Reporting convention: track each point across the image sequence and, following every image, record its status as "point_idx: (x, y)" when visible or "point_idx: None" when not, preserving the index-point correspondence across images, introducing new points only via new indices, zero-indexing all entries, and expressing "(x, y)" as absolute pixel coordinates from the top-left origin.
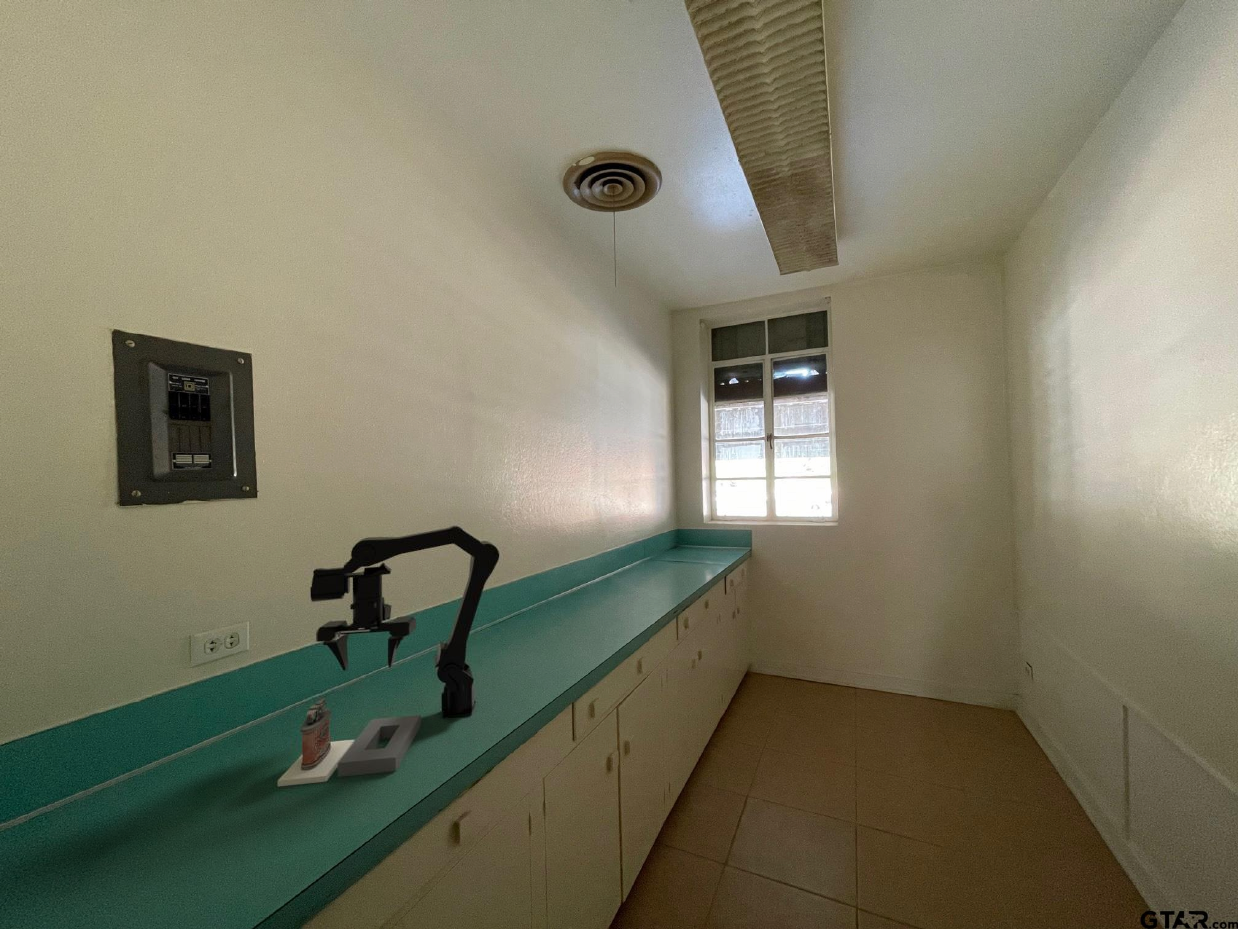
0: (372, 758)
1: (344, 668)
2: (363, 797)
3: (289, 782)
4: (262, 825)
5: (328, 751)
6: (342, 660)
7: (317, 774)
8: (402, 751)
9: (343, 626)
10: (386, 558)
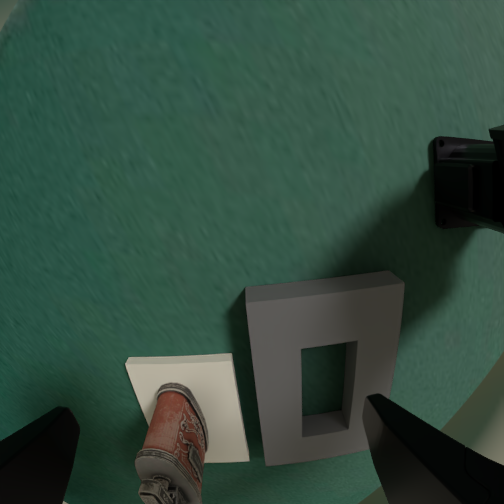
0: (332, 454)
1: (74, 443)
2: (333, 472)
3: None
4: (216, 501)
5: (200, 411)
6: (63, 499)
7: (229, 458)
8: None
9: None
10: None
